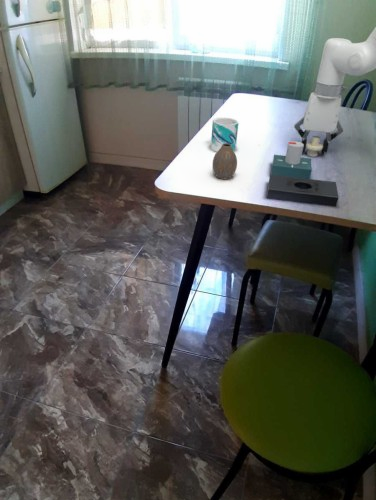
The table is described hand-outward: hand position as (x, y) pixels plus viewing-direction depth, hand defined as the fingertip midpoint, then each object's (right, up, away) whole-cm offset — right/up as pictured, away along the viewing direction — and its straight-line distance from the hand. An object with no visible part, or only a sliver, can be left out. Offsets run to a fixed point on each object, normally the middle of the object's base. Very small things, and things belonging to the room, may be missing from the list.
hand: (312, 152), depth 134 cm
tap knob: (-10, -9, -13) cm, 19 cm away
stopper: (0, 0, 0) cm, 1 cm away
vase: (-30, -14, -15) cm, 37 cm away
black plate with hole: (-10, -21, -22) cm, 32 cm away
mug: (-29, +3, +3) cm, 29 cm away
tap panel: (-10, -11, -11) cm, 18 cm away
